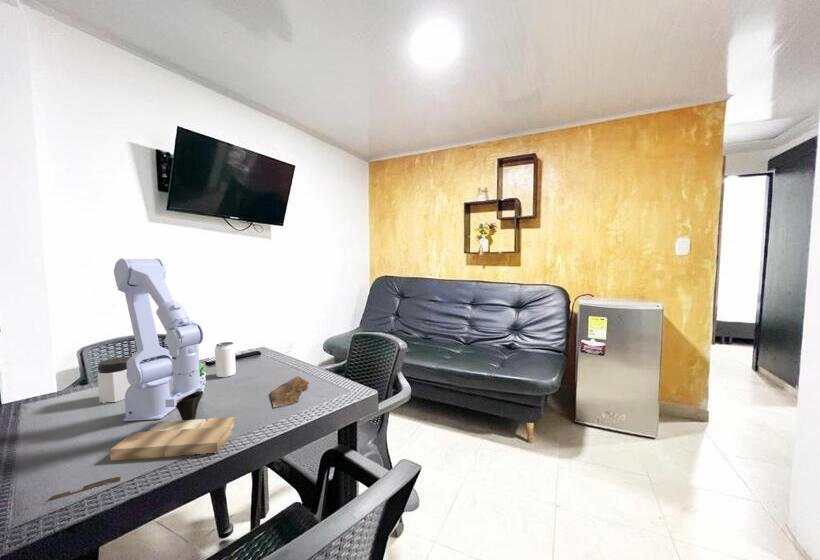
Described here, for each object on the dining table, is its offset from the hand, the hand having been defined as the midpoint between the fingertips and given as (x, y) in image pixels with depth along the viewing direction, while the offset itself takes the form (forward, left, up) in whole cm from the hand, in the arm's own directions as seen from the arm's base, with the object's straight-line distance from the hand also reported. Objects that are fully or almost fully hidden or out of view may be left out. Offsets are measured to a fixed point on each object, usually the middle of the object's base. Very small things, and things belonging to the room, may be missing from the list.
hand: (189, 421), depth 84 cm
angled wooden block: (+3, -8, -1) cm, 8 cm away
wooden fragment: (+20, +20, -2) cm, 29 cm away
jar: (-33, +21, -1) cm, 39 cm away
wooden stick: (-7, -23, -2) cm, 24 cm away
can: (-8, +38, -1) cm, 39 cm away
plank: (-1, -3, -2) cm, 4 cm away
